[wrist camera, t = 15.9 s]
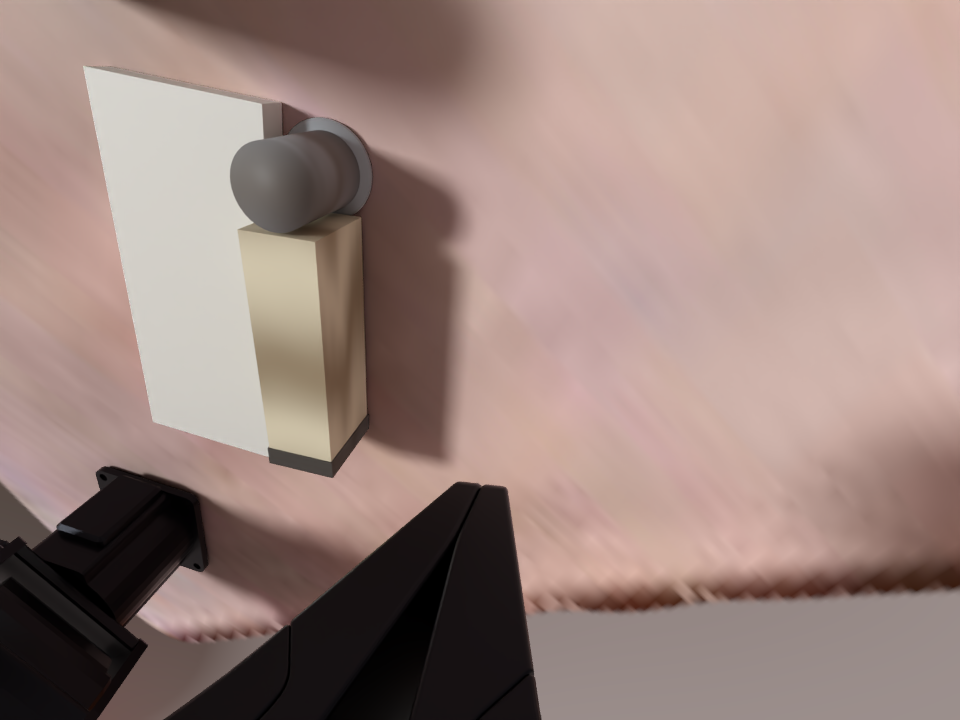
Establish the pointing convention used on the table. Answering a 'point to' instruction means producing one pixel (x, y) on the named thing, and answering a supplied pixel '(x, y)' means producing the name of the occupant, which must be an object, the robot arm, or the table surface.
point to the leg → (305, 295)
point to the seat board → (190, 240)
